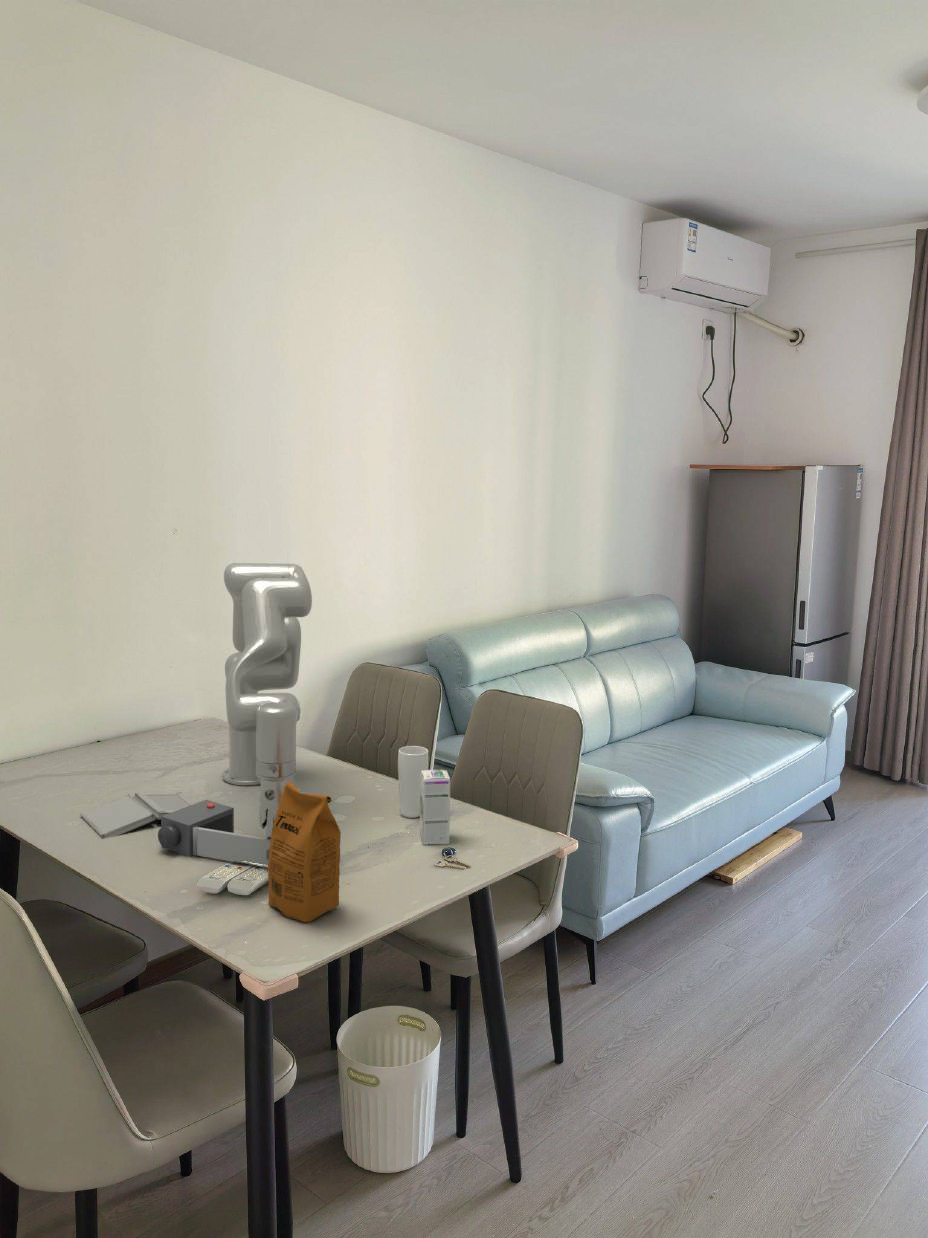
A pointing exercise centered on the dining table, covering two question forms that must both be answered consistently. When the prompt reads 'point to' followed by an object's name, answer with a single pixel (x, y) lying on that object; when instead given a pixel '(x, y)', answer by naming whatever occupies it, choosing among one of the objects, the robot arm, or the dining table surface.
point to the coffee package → (304, 856)
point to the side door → (230, 846)
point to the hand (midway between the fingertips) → (275, 856)
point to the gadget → (133, 811)
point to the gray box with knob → (193, 824)
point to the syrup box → (435, 807)
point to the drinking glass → (411, 778)
